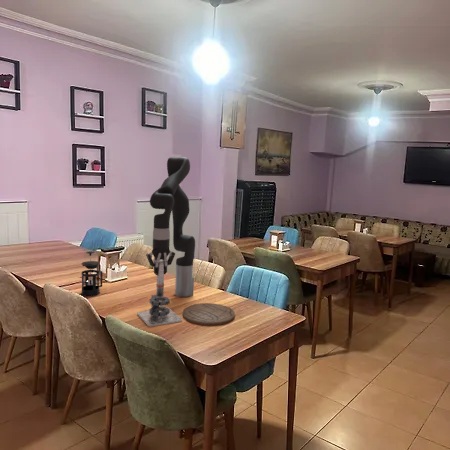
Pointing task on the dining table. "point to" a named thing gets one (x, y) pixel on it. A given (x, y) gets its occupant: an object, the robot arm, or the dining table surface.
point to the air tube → (160, 279)
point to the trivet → (208, 314)
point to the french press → (90, 285)
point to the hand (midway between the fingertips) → (160, 274)
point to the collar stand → (159, 313)
